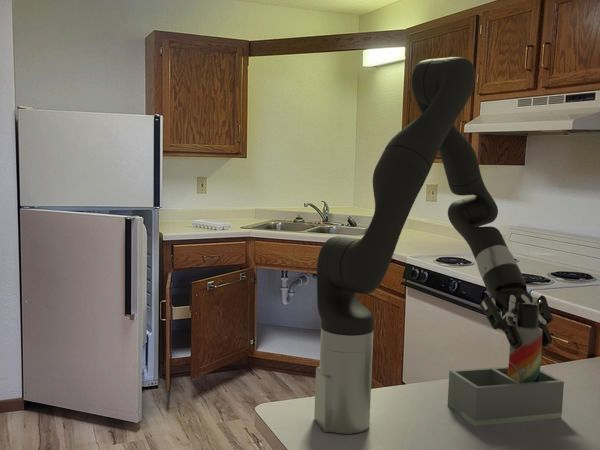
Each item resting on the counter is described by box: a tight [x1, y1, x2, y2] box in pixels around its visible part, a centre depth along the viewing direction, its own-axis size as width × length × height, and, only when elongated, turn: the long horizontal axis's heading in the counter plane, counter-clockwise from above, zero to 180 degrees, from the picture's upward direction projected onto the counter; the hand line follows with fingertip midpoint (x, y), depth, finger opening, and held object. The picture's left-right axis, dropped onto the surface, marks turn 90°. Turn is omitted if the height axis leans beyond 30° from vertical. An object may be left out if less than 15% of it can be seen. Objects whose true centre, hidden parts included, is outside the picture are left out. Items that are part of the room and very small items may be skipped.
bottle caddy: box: [447, 366, 565, 427], centre depth 112 cm, size 18×10×7 cm, turn 105°
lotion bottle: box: [507, 302, 543, 383], centre depth 113 cm, size 6×6×20 cm
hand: (533, 345), depth 111 cm, fingers open, 6 cm apart
